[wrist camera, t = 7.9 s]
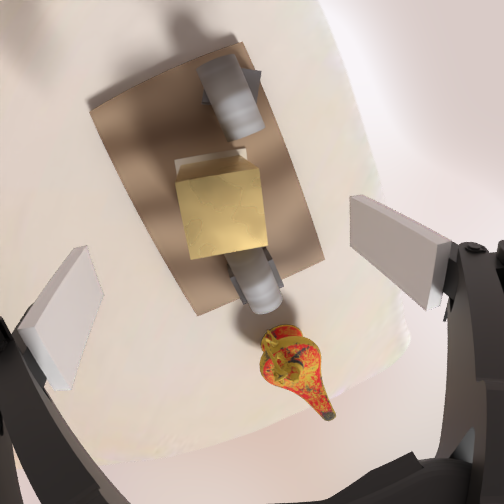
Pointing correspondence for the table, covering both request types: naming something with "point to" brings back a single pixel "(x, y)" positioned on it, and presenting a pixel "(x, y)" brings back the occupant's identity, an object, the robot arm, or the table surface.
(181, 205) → the block
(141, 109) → the shaft bench
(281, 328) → the magic lamp
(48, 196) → the table surface
